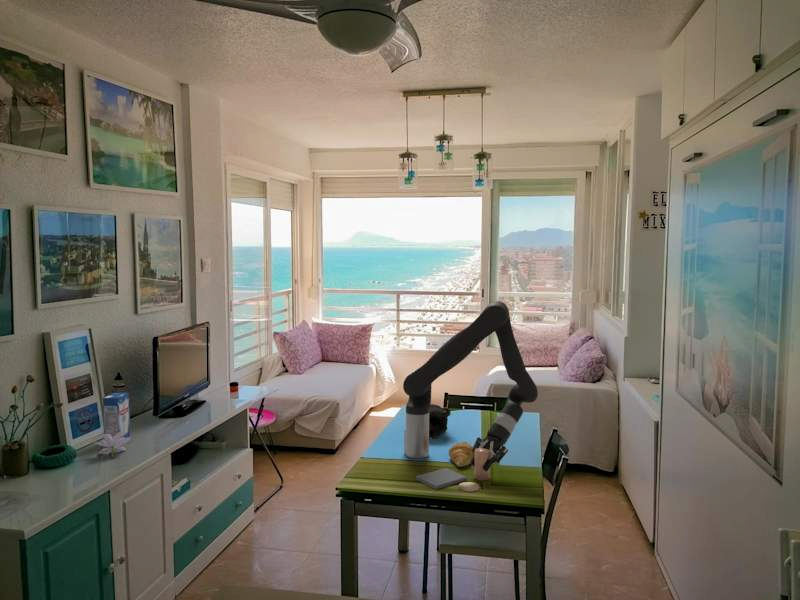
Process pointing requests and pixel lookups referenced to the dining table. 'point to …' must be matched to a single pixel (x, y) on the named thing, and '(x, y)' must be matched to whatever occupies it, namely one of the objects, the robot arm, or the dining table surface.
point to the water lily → (113, 442)
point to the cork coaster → (469, 486)
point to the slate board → (441, 478)
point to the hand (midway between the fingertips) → (478, 467)
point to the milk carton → (116, 414)
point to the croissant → (461, 454)
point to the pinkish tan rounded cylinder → (481, 464)
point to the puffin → (437, 420)
